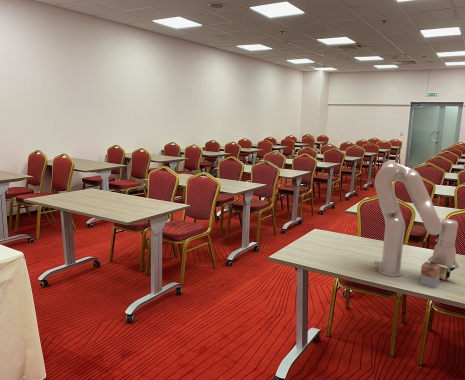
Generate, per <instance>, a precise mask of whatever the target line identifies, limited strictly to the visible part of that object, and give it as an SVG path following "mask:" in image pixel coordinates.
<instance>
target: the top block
mask: <svg viewBox="0 0 465 380" xmlns="http://www.w3.org/2000/svg"><path fill="white" fill-rule="evenodd" d="M441 266H442V265H439V264H433V263H430V262H429V261H425V262H424V263H423V264H422V265H421V266H420V268H421V269H420V276H421V275H423V276H427V277H431V278H435V279H436V278H437V277H438V276H439V275H440V267H441Z"/></svg>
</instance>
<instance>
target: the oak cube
mask: <svg viewBox="0 0 465 380" xmlns="http://www.w3.org/2000/svg"><path fill="white" fill-rule="evenodd" d="M447 270H448V269H447V266H443V265H441V267H440V277H439V280H444V281H445V280H447V279H446V273H447Z"/></svg>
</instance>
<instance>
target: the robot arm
mask: <svg viewBox="0 0 465 380" xmlns="http://www.w3.org/2000/svg"><path fill="white" fill-rule="evenodd" d="M393 180H396V181H398V182H401V183H403V185H404V187H405V188H406V191H407V194H408V195H409V197H410V199H411V200H410V201H411V202H412V203H413V206H414V208H415V209H416V211H417V212H418V215H419V217H420V219H421V221H422V223H423V225H424V228H425V231H426V232H427V234H430V235H431V236H437V235H438V238H435V239H434V241H435V242H437V243H436V244H435V246H434V249H433V251H432V252H433V254H432V255H431V256H430V257H429V258H427V262H429V263H433V264H438V265H441V266H442V267H446V268H447V269H448V270H447V273H446V279H445V280H447V279H449V278H450V277H451V272H453V271H454V270H457V269H459V268H460V265H459V264H458V263H457V261H456V258H457V257H456V255H457V251H456V249H457V248H456V246H455V245H456V239H457V232H458V228H459V227H458V226H459V222H458V221H457V220H455V219H450V218H449V219H448V218H440V217H439V215H438V213H437V211H436V209H435V206H434V204H433V202H432V199H431V197H430V194H429V192H428V190H427V188H426V185H425V184H424V183H425V182H424V181H423V179H422V177H421V175H420V173H419V172H418V171H417V170H415V169H413V168H410V167H408V166H405V165H402V164H400V163H397V162H395V161H393V160H386V161H384V162H383V163H382V165H381V168H380V169H379V170H378V171H377V173H376V175H375V178H374V187H375V192H376V195H377V198H378V203H379V207H380V210H381V213H382V215H383V218H384V224H385V225H384V227H385V228H384V234H383V235H384V236H383V246H382V247H383V248H382V258H381V260H382V261H379V260H374V265H375V266H376V267H378V270H377V271H378V272H379V273H380V274H381V275H385V276H388V277H396V278H397V277H402V276H404V271H403V270H402V269H401V266H402V258H403V247H404V237H405V232H406V223H405V219H404V216H403V213H402V210H401V207H400V203H399V199H398V198H397V196H396V193H395V190H394V185H393Z"/></svg>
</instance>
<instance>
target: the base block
mask: <svg viewBox="0 0 465 380" xmlns="http://www.w3.org/2000/svg"><path fill="white" fill-rule="evenodd" d="M439 277H440V275H439V276H438V277H437V278H436V279H435V278H431V277H427V276H423V275H421V274H420V279H419V285H422V286H425V287H430V288H433V289H436V287H437V286H438V285H439V284H440V278H439Z"/></svg>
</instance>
